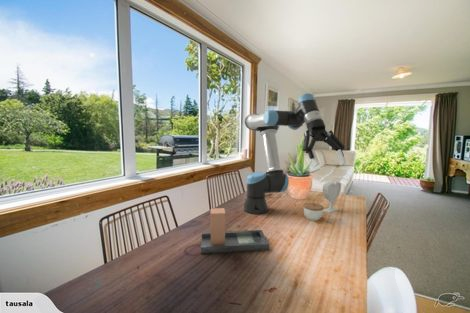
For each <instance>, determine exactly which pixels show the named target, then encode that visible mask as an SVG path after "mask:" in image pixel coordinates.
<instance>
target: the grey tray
mask: <svg viewBox="0 0 470 313" xmlns="http://www.w3.org/2000/svg"><path fill="white" fill-rule="evenodd" d="M267 250H270V243H269V241H268V240H267V237H266V236H265V233H264V232H263V231H262V229H255V230H254V229H253V230H252V229H251V230H232V231H231V230H229V231H225V244H218V245H211V231H206V232H201V243H200V254H211V253H212V254H213V253H215V254H216V253H233V252H250V251H251V252H253V251H267Z"/></svg>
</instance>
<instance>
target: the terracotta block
mask: <svg viewBox="0 0 470 313" xmlns="http://www.w3.org/2000/svg"><path fill="white" fill-rule="evenodd" d="M210 232H211V245H218V244H225V232H226V210H225V208H223V207H222V208H221V207H218V208H215V207H213V208H210Z"/></svg>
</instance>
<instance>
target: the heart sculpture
mask: <svg viewBox="0 0 470 313" xmlns="http://www.w3.org/2000/svg"><path fill="white" fill-rule="evenodd" d="M341 192H342V183H341V182H339V181H334V180H331V181H327V182H325V183H324V184H323V186H322V195H323V197H324V198H325V199H326V200H327V201H328V208H327V207H326V208H323V213H324V212H325V213H329V214H331V213H332V212H336V211H338V210H340V208H338V207H336V206H334V203H335V202H336V200H337V199H338V198H339V196H340V193H341Z"/></svg>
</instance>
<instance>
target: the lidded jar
mask: <svg viewBox="0 0 470 313" xmlns="http://www.w3.org/2000/svg"><path fill="white" fill-rule="evenodd" d="M323 210H324V205H322V204H320V203H316V202H306V203H305V202H304V203H303V213H304V216H305V217H306V219H307V220H309V221H313V222H314V221H315V222H317V221H319V220H320V219H321V218H322V216H323V214H324V211H323Z"/></svg>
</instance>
